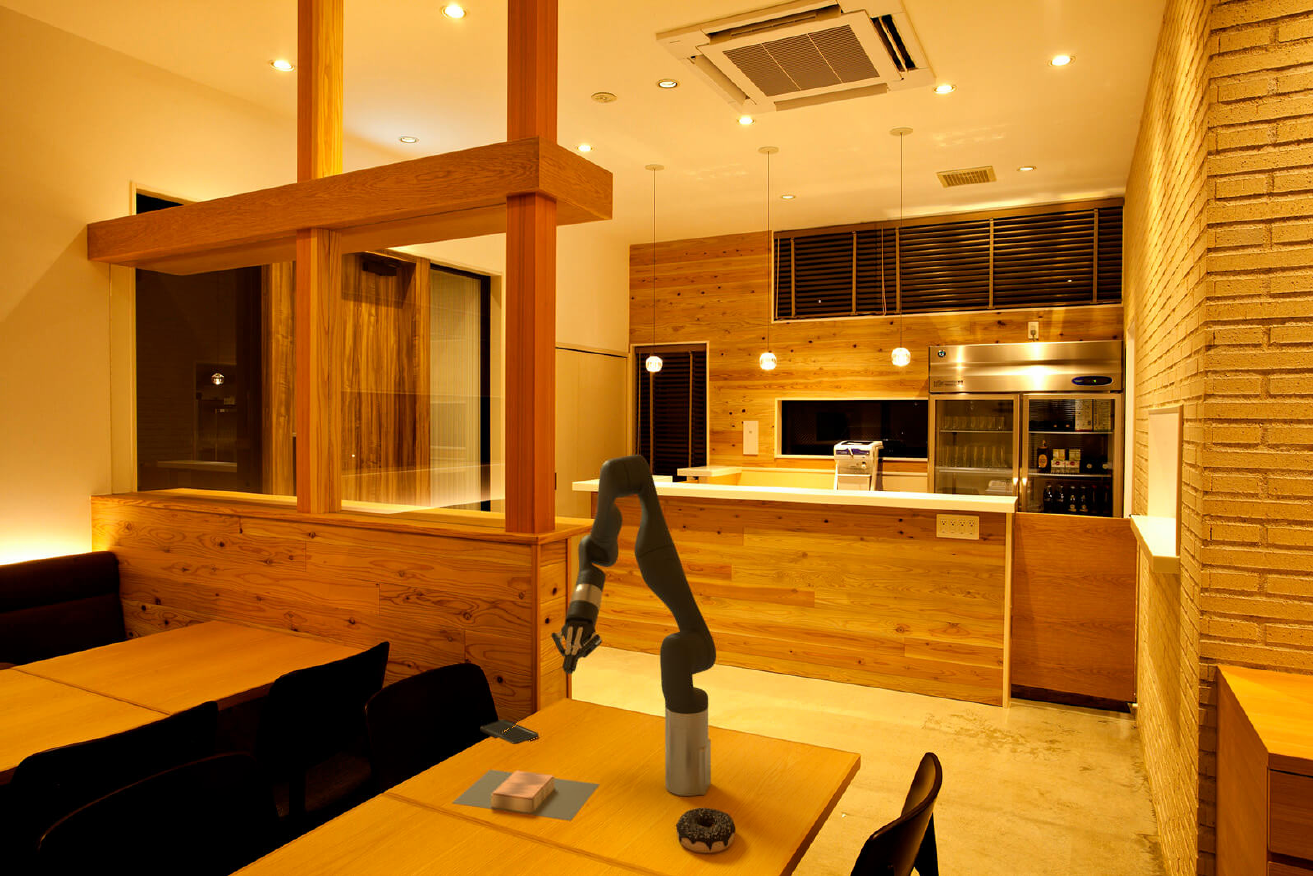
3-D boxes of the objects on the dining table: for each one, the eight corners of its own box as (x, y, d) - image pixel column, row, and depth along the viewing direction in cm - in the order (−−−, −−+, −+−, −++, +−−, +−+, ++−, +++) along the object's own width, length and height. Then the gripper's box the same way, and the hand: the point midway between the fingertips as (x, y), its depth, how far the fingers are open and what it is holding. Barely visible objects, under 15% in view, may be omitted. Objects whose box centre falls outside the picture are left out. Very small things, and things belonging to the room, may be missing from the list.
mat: (599, 786, 166) (599, 784, 166) (570, 823, 151) (570, 820, 151) (490, 772, 174) (490, 769, 174) (451, 805, 158) (451, 803, 158)
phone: (503, 719, 204) (540, 734, 193) (503, 723, 204) (540, 738, 193) (478, 727, 198) (514, 743, 188) (478, 732, 198) (514, 748, 188)
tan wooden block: (554, 775, 165) (532, 799, 154) (554, 788, 165) (532, 813, 154) (515, 770, 167) (491, 793, 157) (515, 783, 167) (491, 807, 157)
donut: (731, 823, 151) (731, 803, 151) (739, 857, 139) (739, 835, 139) (674, 824, 151) (674, 804, 151) (677, 858, 139) (677, 836, 139)
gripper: (554, 598, 192) (536, 663, 180) (605, 599, 188) (590, 666, 177) (564, 613, 197) (546, 678, 186) (613, 615, 193) (599, 681, 182)
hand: (568, 672), depth 181 cm, fingers closed
